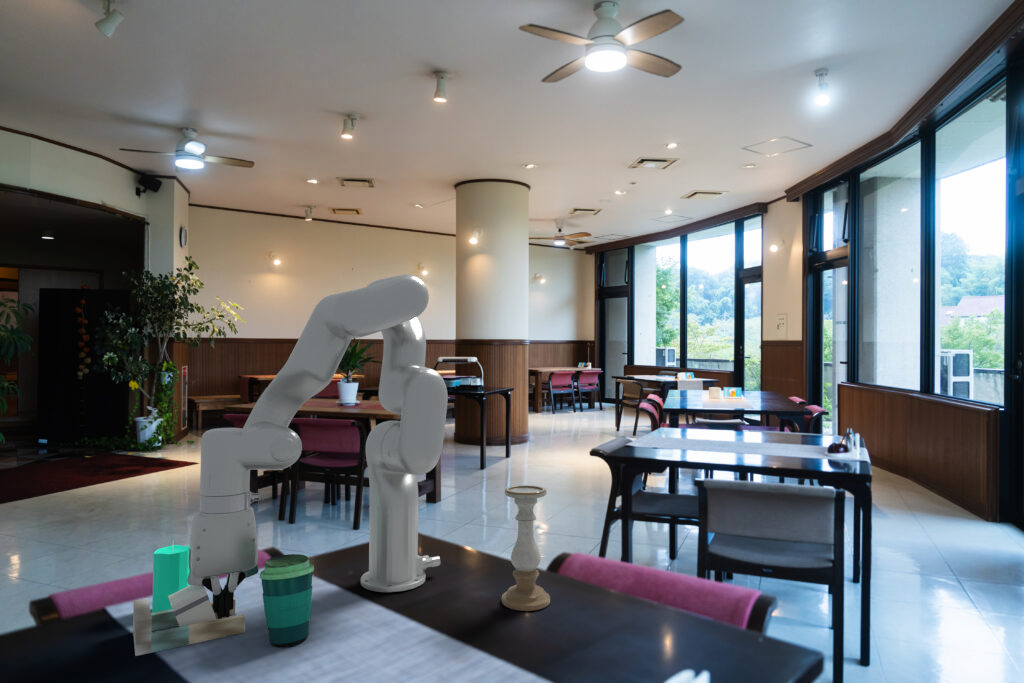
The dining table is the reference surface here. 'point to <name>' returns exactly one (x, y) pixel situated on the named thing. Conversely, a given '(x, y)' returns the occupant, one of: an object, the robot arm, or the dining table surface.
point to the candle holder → (525, 553)
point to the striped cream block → (191, 606)
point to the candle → (169, 574)
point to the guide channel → (177, 629)
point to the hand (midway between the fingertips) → (222, 615)
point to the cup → (287, 598)
